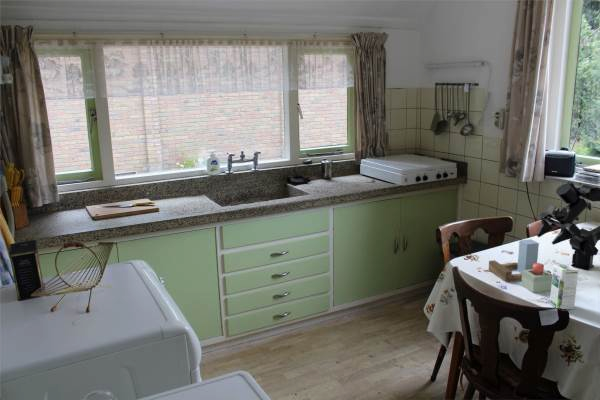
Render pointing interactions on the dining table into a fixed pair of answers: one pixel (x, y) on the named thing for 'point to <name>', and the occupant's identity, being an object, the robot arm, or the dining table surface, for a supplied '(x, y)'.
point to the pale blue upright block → (527, 254)
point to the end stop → (500, 271)
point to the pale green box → (536, 281)
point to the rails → (515, 266)
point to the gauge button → (538, 268)
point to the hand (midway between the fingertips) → (544, 240)
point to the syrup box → (563, 286)
